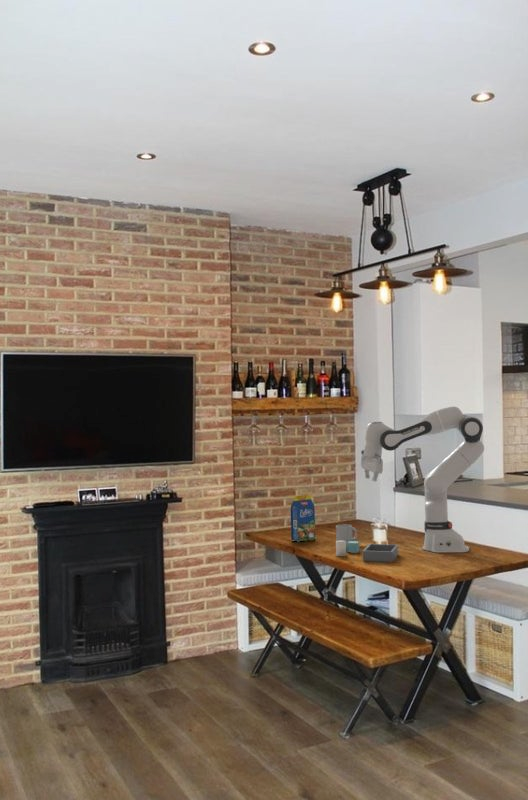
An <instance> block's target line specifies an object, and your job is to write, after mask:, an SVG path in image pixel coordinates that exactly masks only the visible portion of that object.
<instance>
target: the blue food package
mask: <svg viewBox="0 0 528 800" xmlns="http://www.w3.org/2000/svg"><path fill="white" fill-rule="evenodd" d="M292 497H293V502H292V503H291V504H290V505H291V506H290V527H291V528H290V531H291V532H290V535H291V541H292V540H294V541H298V542H297V543H301V542H300V541H305V542H308V541H307V540H311V541H315V540H314V539H316V517H315V514H316V512H315V504H314V502H313V500H312V494H311V493H310V494H301V495H294V496H292Z"/></svg>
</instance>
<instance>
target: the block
mask: <svg viewBox="0 0 528 800" xmlns="http://www.w3.org/2000/svg"><path fill="white" fill-rule="evenodd" d="M348 552H351V553H350V554H358V553H360V541H357V540H354V541H349V542H348V543H347V548H346V553H348Z"/></svg>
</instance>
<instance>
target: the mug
mask: <svg viewBox="0 0 528 800" xmlns="http://www.w3.org/2000/svg"><path fill="white" fill-rule="evenodd" d="M353 531H354V537H353ZM335 537H336V539H335V542H336V541H339V540H344V541H346V549H347V543H348V542H349V541H357V538H358V530H357V528H356V527H353V525H352V524H347V523H346V524H345V523H344V524H337V525H335Z"/></svg>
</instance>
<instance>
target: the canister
mask: <svg viewBox="0 0 528 800" xmlns="http://www.w3.org/2000/svg"><path fill="white" fill-rule="evenodd" d="M335 556H336V557H339V556H344V557H346V556H347V548H346V541H344V540H339V541H336V540H335Z"/></svg>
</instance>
